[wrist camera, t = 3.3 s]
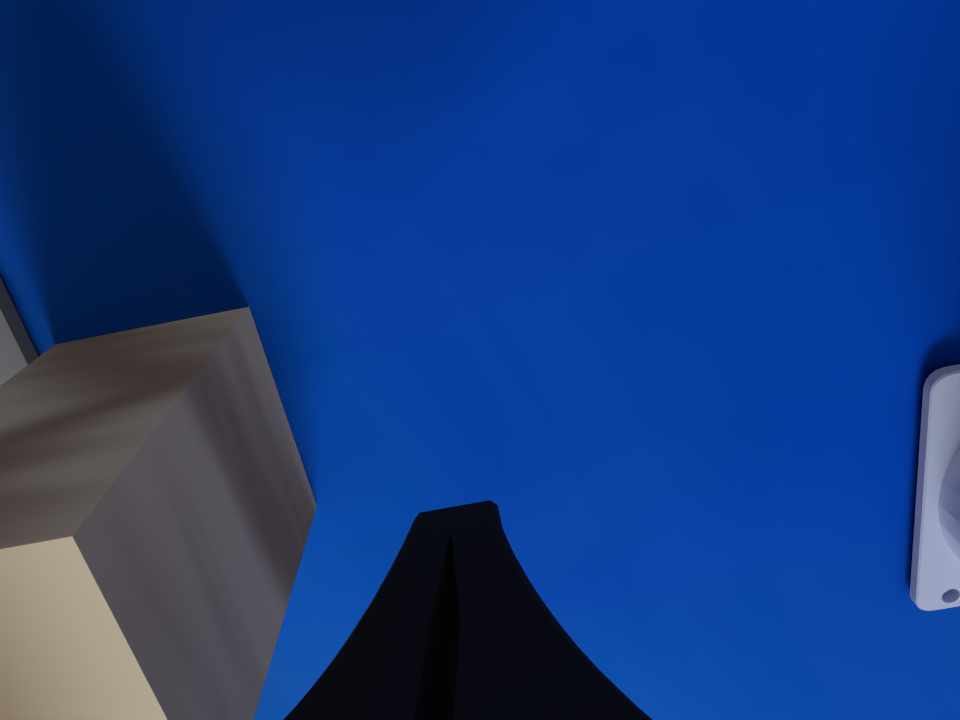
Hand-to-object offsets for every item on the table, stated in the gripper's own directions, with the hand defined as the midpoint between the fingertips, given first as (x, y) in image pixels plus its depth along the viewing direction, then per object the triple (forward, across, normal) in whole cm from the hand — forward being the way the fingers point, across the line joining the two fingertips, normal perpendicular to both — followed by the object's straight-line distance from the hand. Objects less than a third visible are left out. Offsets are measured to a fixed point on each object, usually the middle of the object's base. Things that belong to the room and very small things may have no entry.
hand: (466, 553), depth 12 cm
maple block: (+7, +7, 0) cm, 10 cm away
